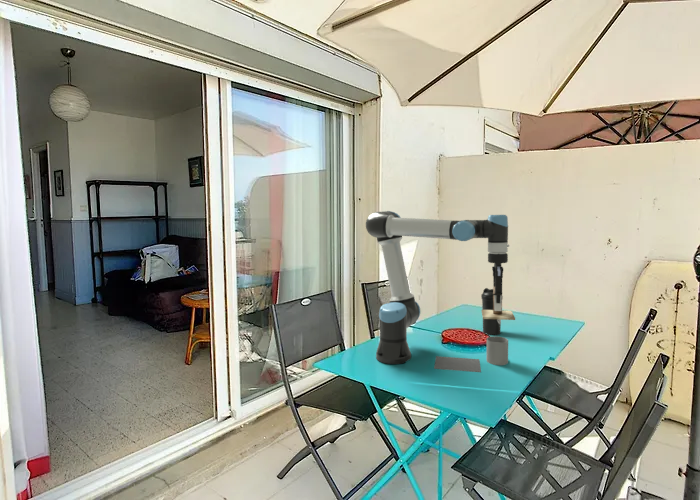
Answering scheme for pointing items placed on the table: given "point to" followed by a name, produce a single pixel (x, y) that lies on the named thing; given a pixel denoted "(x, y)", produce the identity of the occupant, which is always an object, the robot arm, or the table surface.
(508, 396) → the table surface
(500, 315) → the lid
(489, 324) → the water bottle
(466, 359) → the mat
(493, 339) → the cup
